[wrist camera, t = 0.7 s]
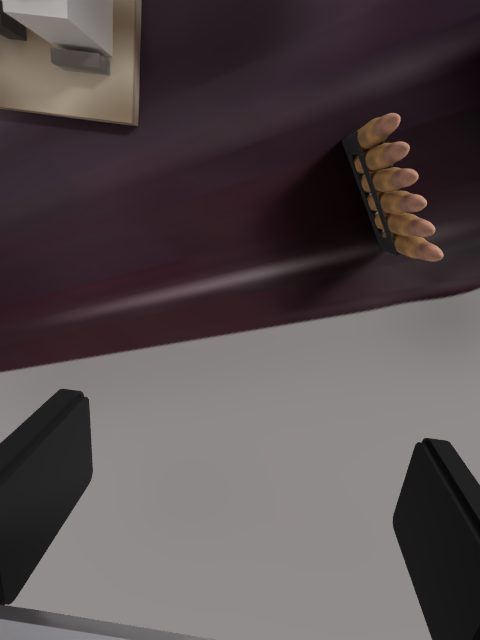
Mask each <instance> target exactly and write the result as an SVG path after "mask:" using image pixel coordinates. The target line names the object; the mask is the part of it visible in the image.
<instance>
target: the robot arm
mask: <svg viewBox="0 0 480 640" xmlns="http://www.w3.org/2000/svg"><path fill="white" fill-rule="evenodd" d="M92 472H93V467H92V449H91V429H90V411H89V399H88V398H87V397H84V394H83V393H82V392H81V391H75V390H68V389H60V390H59V391H57V392H56V393H55V394H54V395H53V396H52V397H51V398H50V399H49V400H48V401H46V402H45V403H44V404H43V405H42V406H41V407H40V408H39V409H38V410H37V411H36V412H34V413H33V414H32V415H31V416H30V417H29V418H28V419H27V420H26V421H25V422H23V423H22V424H21V425H20V426H19V427H18V428H17V429H16V430H15V431H14V432H13V433H12V434H10V435H9V436H8V437H7V438H6V439H5V440H4V441H3V442H1V443H0V640H213V639H208V638H201V637H196V636H190V635H184V634H178V633H172V632H166V631H160V630H155V629H149V628H142V627H136V626H130V625H124V624H118V623H112V622H106V621H100V620H94V619H88V618H82V617H76V616H70V615H64V614H58V613H52V612H46V611H39V610H33V609H26V608H18V607H12V606H5V604H8V605H9V604H11V603H12V602H13V601H14V600H15V598H16V597H17V596H18V594H19V592H20V591H21V589H22V588H23V586H24V585H25V583H26V582H27V580H28V578H29V577H30V575H31V574H32V572H33V570H34V569H35V567H36V566H37V564H38V563H39V561H40V560H41V558H42V557H43V555H44V553H45V552H46V550H47V549H48V547H49V546H50V544H51V543H52V541H53V539H54V538H55V536H56V535H57V533H58V532H59V530H60V528H61V527H62V525H63V524H64V522H65V521H66V519H67V518H68V516H69V514H70V513H71V511H72V510H73V508H74V507H75V505H76V503H77V502H78V500H79V499H80V497H81V496H82V494H83V493H84V491H85V490H86V488H87V486H88V485H89V483H90V481H91V478H92ZM393 527H394V531H395V534H396V537H397V540H398V543H399V546H400V549H401V551H402V554H403V557H404V560H405V563H406V566H407V569H408V572H409V574H410V577H411V580H412V583H413V586H414V589H415V592H416V594H417V597H418V600H419V603H420V606H421V609H422V612H423V614H424V617H425V620H426V623H427V626H428V629H429V632H430V634H431V637H432V640H480V485H479V484H478V482H477V481H476V479H475V478H474V476H473V475H472V474H471V472H470V471H469V469H468V468H467V466H466V465H465V463H464V462H463V461H462V459H461V458H460V456H459V455H458V454H457V452H456V450H455V449H454V448H453V446H452V445H451V443H450V442H448V441H445V440H437V439H429V438H425V439H424V440H423V441H422V443H420V442H418V443H417V444H416V445H415V448H414V451H413V454H412V457H411V460H410V464H409V467H408V470H407V473H406V477H405V480H404V483H403V486H402V489H401V493H400V496H399V499H398V502H397V505H396V509H395V512H394V516H393Z"/></svg>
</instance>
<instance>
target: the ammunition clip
mask: <svg viewBox="0 0 480 640" xmlns="http://www.w3.org/2000/svg"><path fill="white" fill-rule="evenodd" d="M399 123H400V116H399V115H398V114H396V113H390V114H386V115H384V116H382V117H380V118H375V119H373V120H371V121H370V122H369V123H367V124H366V125H365V126H363V127H362V128H361V129H359V130H358V131H356V132H354V133H352V134H350V135H348V136H346V137H344V138H342V143H343V146H344V149H345V152H346V154H347V157H348V160H349V163H350V165H351V168H352V171H353V174H354V177H355V179H356V182H357V185H358V188H359V190H360V193H361V196H362V199H363V202H364V204H365V207H366V210H367V213H368V215H369V218H370V221H371V224H372V227H373V229H374V232H375V235H376V238H377V240H378V243H379V246H380V249H381V250H384V251H386V252H389V253H392V254H394V255H400V253H402V254H404V255H406V256H409V257H411V258H419V259H423V260H426V261H438V260H441V259H442V258H443V252H442V251H441V250H440V249H439V248H438V247H437V246H435V245H433V244H431V243H429V242H427V241H426V240H425V239H424V238H422V237H427V236H430V235H432V234H434V232H435V227H434V226H433V224H432V223H430V222H428V221H426V220H424V219H421V218H418V217H417V216H415V215H413V214H408V212H417V211H420V210H422V209H423V208H425V207H426V205H427V201H426V200H425V199H424V197H422V196H420V195H417V194H411V193H409V192H407V191H400V188H404V187H408V186H410V185H412V184H413V183H415V182H416V181H417V179H418V173H417V172H416V171H414V170H412V169H406V168H404V169H400V168H397V167H393V166H392V165H393V164H394V163H395V162H397V161H399V160H401V159H402V158H404V157H405V156H406V155H407V153H408V152H409V149H410V147H409V145H408V144H407V143H405V142H394V143H385V142H384V140H385V139H386V138H387V136H388V135H390V134H391V133H392V132H393V131H394V130H395V129H396V128H397V127H398V125H399ZM377 144H379V146H376V147H374V148H372V147H373V146H375V145H377ZM383 168H387V169H383ZM379 169H383V170H379ZM398 252H400V253H398Z"/></svg>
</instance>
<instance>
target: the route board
mask: <svg viewBox="0 0 480 640" xmlns="http://www.w3.org/2000/svg"><path fill="white" fill-rule="evenodd" d="M141 7H142V0H113V57H111V56H102V55H101V54H100V53H92V52H84V51H75V50H67V49H58V48H57V47H55V46H54V45H52V44H51V43H49V42H48V41H46V40H45V39H43V38H42V37H40V36H39V35H38V34H36V33H35V32H33V31H32V30H30V29H29V28H27V27H26V26H24V25H23V24H21V23H20V22H18V21H17V20H15V19H14V18H12V17H11V16H9V15H8V14H6V13H5V12H3V3H2V0H0V109H4V110H12V111H19V112H27V113H35V114H43V115H51V116H59V117H67V118H75V119H83V120H91V121H99V122H107V123H115V124H123V125H131V126H138V117H139V80H140V43H141Z"/></svg>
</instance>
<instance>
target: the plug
mask: <svg viewBox="0 0 480 640" xmlns="http://www.w3.org/2000/svg"><path fill="white" fill-rule="evenodd" d="M2 3H3V12H5V13H6V14H8V15H9V16H11V17H12V18H14V19H15V20H17V21H18V22H20V23H21V24H23V25H24V26H26V27H27V28H29V29H30V30H32V31H33V32H35V33H36V34H38V35H39V36H40V37H42V38H43V39H45V40H46V41H48V42H49V43H51V44H52V45H54V46H55V47H57V48H58V49H67V50H75V51H84V52H92V53H100V54H101V55H102V56H111V57H113V0H2Z"/></svg>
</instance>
